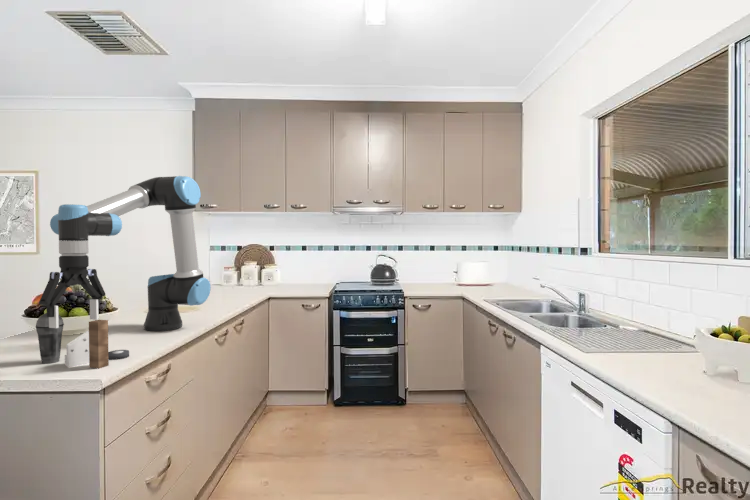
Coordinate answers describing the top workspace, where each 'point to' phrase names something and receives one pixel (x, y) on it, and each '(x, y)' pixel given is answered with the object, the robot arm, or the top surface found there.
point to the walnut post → (98, 344)
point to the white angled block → (78, 351)
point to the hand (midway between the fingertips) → (75, 323)
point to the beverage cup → (49, 339)
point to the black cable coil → (118, 354)
